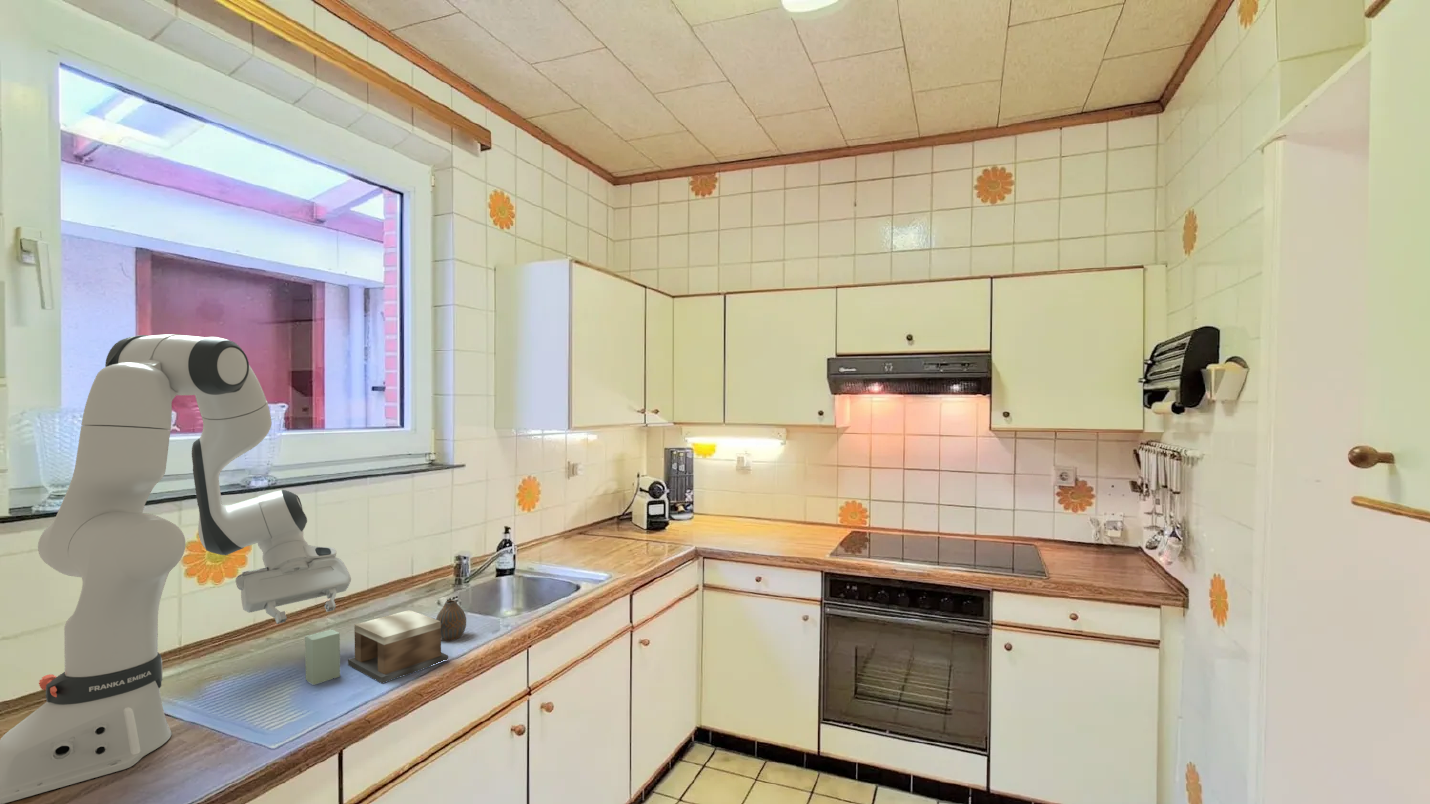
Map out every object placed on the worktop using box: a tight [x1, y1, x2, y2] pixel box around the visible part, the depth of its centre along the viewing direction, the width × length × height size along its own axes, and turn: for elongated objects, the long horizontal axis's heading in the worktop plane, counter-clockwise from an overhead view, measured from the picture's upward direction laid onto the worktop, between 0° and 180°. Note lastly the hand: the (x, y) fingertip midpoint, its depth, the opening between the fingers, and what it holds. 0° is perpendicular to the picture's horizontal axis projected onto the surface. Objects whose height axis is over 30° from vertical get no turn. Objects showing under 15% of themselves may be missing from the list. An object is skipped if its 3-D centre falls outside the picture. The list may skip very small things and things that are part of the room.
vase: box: [435, 599, 467, 642], centre depth 152 cm, size 7×7×9 cm
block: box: [304, 628, 341, 686], centre depth 130 cm, size 5×4×9 cm
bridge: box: [347, 609, 449, 684], centre depth 137 cm, size 14×16×9 cm
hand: (307, 615), depth 135 cm, fingers open, 8 cm apart
